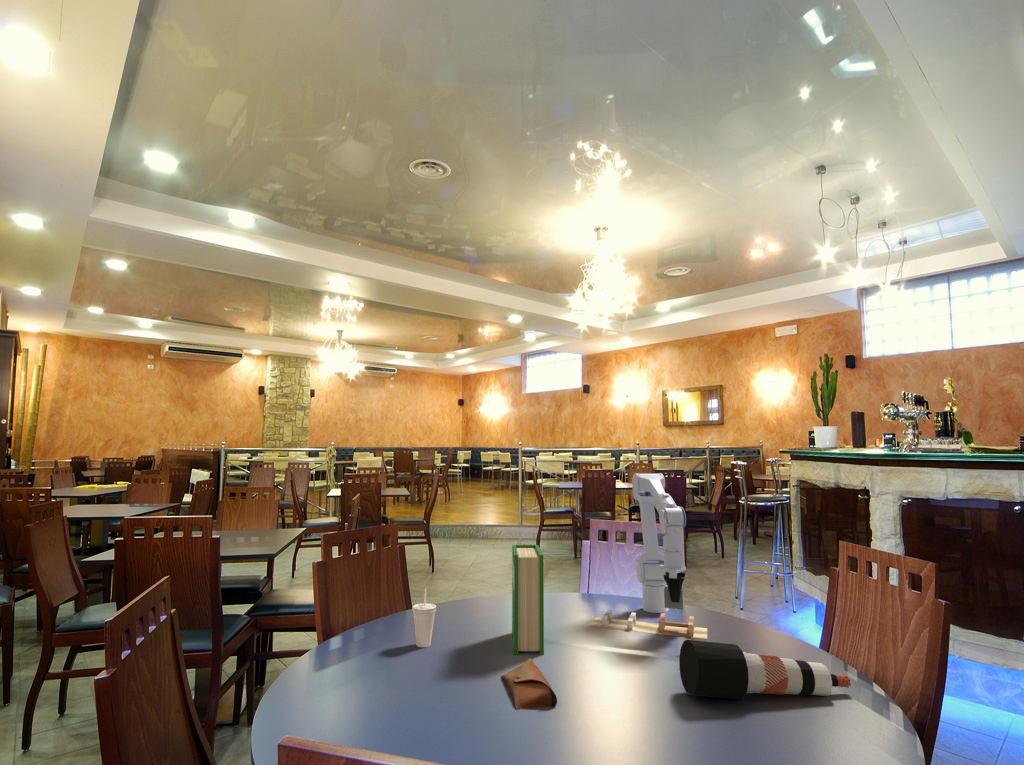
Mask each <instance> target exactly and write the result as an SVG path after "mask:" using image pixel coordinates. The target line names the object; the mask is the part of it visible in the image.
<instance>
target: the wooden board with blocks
mask: <svg viewBox="0 0 1024 765" xmlns="http://www.w3.org/2000/svg"><path fill="white" fill-rule="evenodd" d="M612 611H613V610H611V609H610V610H609V609H607V611H606V612H605V613H604V614H603V616H602V617H600V616H598V617H597V616H595V617H594V619H593V620H592V621H591V623H590V624H589V625H588V627H591V628H601V629H610V630H619V631H628V632H636V633H637V632H639V633H647V634H656V635H657V634H658V635H666V636H676V637H685V638H690V640H696V641H707V642H708V628H707V627H699V626H695V616H693V615H689V617H688V623H685V622H677V621H667V619H666V618H667V617H666V613H664V612H663V613H660V617H659V618H658V623H657V622H649V621H638V620H637V612H631V614H629V617H628V619H618V618H613V615H612V614H613V613H612Z"/></svg>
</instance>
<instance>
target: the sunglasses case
mask: <svg viewBox="0 0 1024 765" xmlns="http://www.w3.org/2000/svg"><path fill="white" fill-rule="evenodd" d="M500 678H501V679H502V681H503V682H504V683H505V685H506V687H507V689H508V691H509V693H510V694H511V696H512V699H513V702H514V703H513V704H514V706H515V707H514V708H515V709H516V710H517V711H519V710H527V709H528V710H529V709H531V710H532V709H543V708H556V706H557V704H558V697H557V695H556V693H555V691H554V690H553V688H552V687H551V685H550V683H549V681H548V679H547V678H546V677H545V675H543V673H542V671H541V670H540V669H539V667H538V666H537V665H536V663H535V662H534V661H533V659H532V658H528V659H527V660H526V662H524V663H522V664H519V666H517V667H515V668H513V669H511V670H510V671H508V672H506V673H504V674H503V675H501V676H500Z"/></svg>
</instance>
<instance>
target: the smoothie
mask: <svg viewBox="0 0 1024 765" xmlns="http://www.w3.org/2000/svg"><path fill="white" fill-rule="evenodd" d="M436 611H437V605H436V604H434V603H428V602H427V588H424V591H423V603H418V604H417V603H416V604H414V605H413V606H412V612H413V621H414V622H413V623H414V633H415V635H414V636H415V644H416V647H418V648H428V647H430V646H431V645H432V644H431V643H432V637H433V630H434V622H435V616H436V615H435V614H436Z"/></svg>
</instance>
